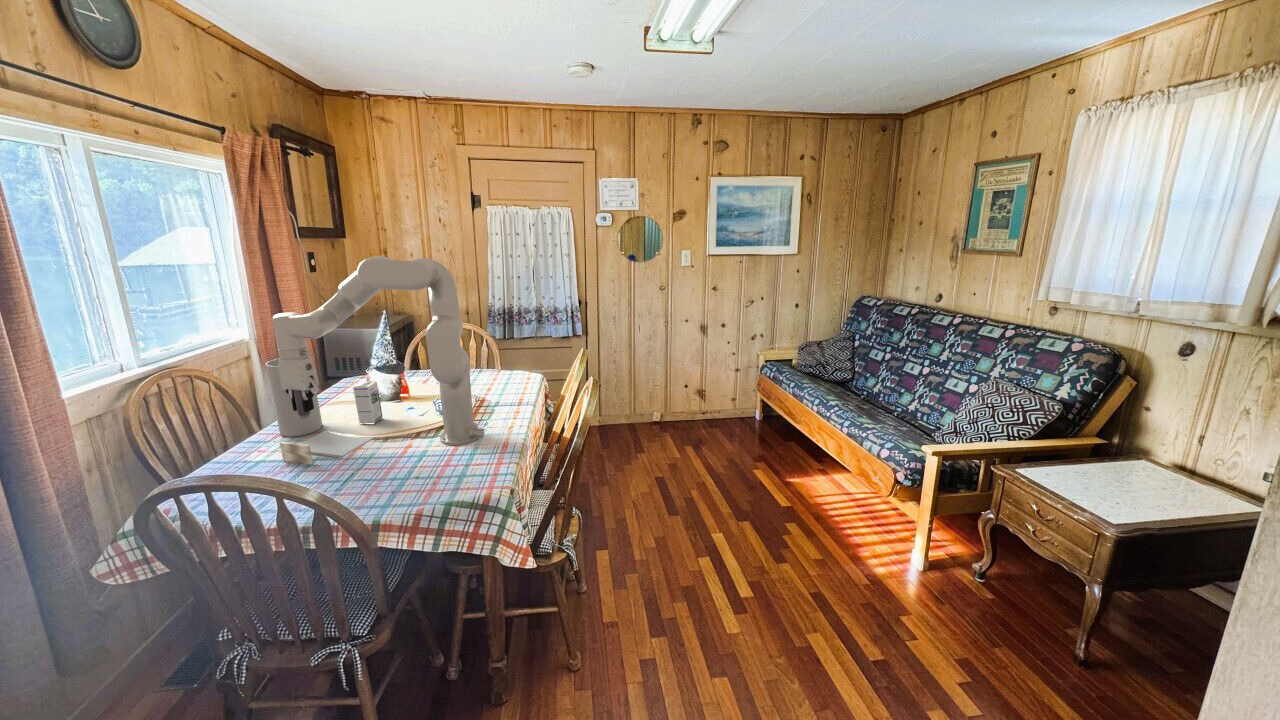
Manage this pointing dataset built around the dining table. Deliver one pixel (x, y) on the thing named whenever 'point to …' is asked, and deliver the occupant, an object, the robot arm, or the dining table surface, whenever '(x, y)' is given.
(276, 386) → the cylinder vase
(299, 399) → the marker
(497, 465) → the dining table surface
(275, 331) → the robot arm
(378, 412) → the syrup box
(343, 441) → the notepad
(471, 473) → the dining table surface
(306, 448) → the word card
